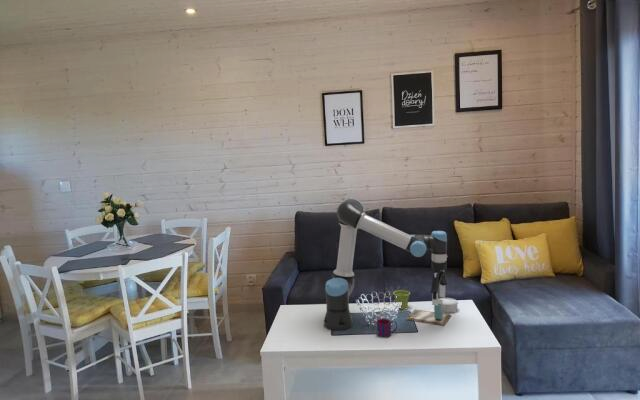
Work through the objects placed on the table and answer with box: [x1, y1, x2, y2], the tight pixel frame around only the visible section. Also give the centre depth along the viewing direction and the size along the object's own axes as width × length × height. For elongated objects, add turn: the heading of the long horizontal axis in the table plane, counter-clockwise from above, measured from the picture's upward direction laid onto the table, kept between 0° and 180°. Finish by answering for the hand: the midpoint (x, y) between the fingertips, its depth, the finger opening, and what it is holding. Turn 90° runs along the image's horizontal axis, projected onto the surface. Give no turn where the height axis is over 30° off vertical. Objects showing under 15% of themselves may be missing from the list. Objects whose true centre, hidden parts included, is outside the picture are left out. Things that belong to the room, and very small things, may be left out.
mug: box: [376, 318, 398, 338], centre depth 216 cm, size 7×10×7 cm
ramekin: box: [439, 297, 459, 314], centre depth 244 cm, size 11×11×5 cm
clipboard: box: [405, 309, 452, 327], centre depth 234 cm, size 20×15×1 cm
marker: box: [433, 298, 444, 321], centre depth 229 cm, size 3×3×10 cm
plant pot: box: [392, 290, 411, 310], centre depth 251 cm, size 9×9×9 cm
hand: (438, 301), depth 230 cm, fingers open, 13 cm apart
